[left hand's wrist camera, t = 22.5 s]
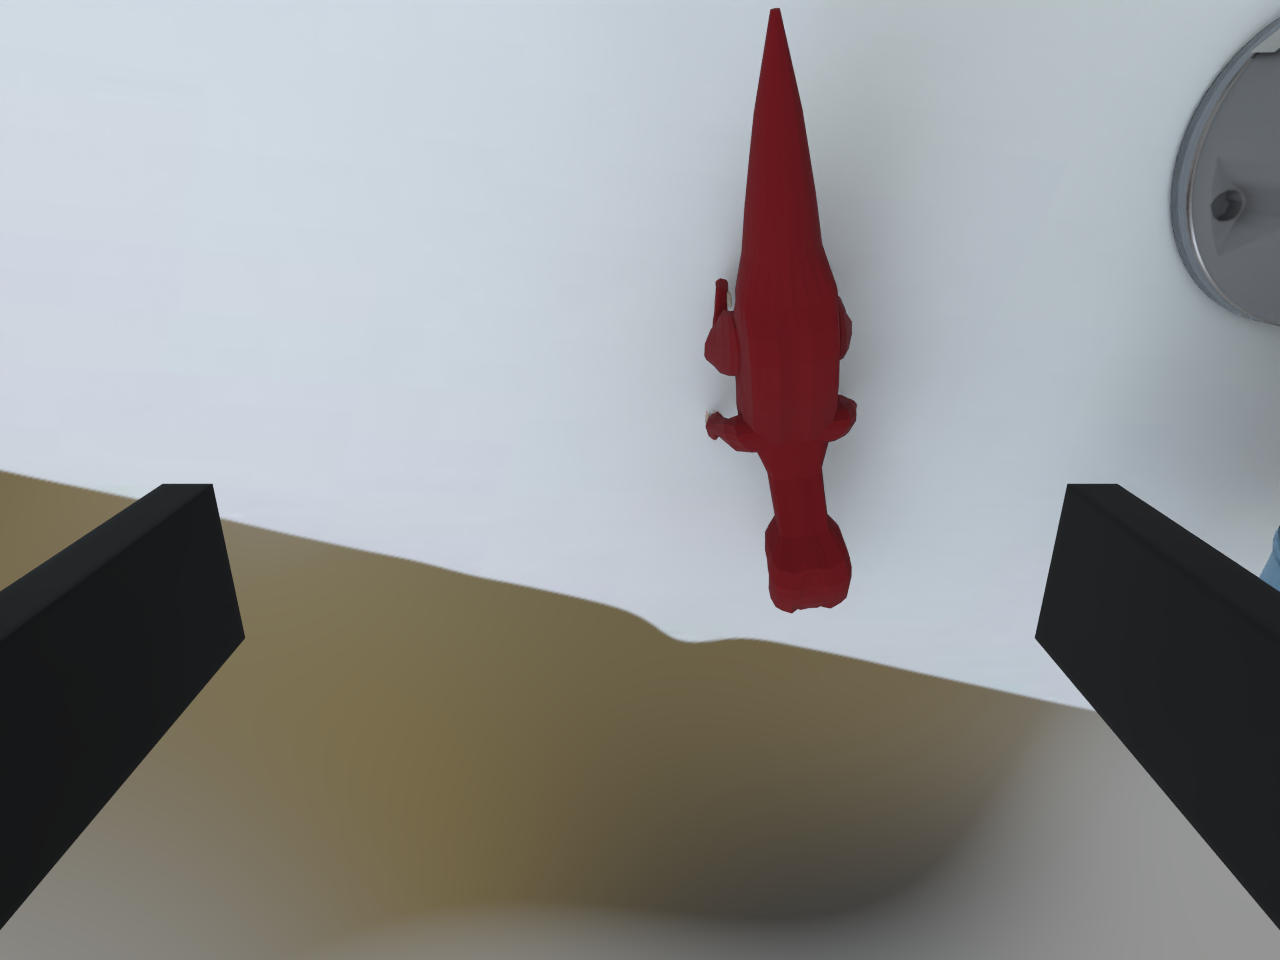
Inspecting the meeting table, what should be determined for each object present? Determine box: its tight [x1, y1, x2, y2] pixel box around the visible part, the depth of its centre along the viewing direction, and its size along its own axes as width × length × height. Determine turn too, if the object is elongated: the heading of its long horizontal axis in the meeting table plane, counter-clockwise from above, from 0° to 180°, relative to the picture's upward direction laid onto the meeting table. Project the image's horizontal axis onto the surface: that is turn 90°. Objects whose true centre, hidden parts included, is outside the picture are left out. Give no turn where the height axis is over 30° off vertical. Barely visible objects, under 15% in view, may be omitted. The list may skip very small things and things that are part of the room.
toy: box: [704, 8, 857, 613], centre depth 36 cm, size 7×27×11 cm, turn 9°
